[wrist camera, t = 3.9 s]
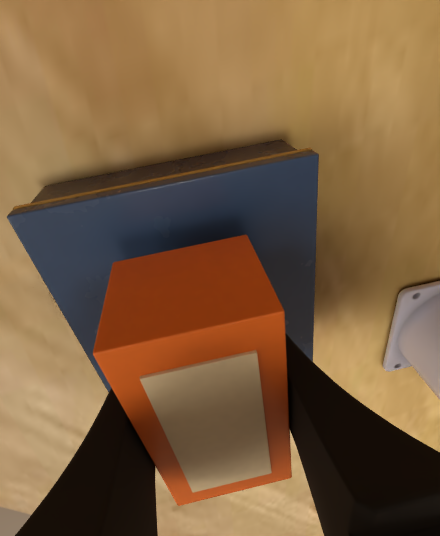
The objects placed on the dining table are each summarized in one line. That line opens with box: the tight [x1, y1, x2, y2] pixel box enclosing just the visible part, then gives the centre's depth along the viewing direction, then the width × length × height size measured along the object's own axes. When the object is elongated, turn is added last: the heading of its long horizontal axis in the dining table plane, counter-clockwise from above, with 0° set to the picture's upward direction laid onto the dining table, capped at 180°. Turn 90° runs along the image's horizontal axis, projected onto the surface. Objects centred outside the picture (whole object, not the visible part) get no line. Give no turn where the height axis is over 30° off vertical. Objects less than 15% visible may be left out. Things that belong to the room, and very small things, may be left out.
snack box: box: [93, 235, 292, 506], centre depth 12 cm, size 9×5×4 cm, turn 9°
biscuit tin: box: [7, 140, 319, 392], centre depth 16 cm, size 11×12×4 cm
